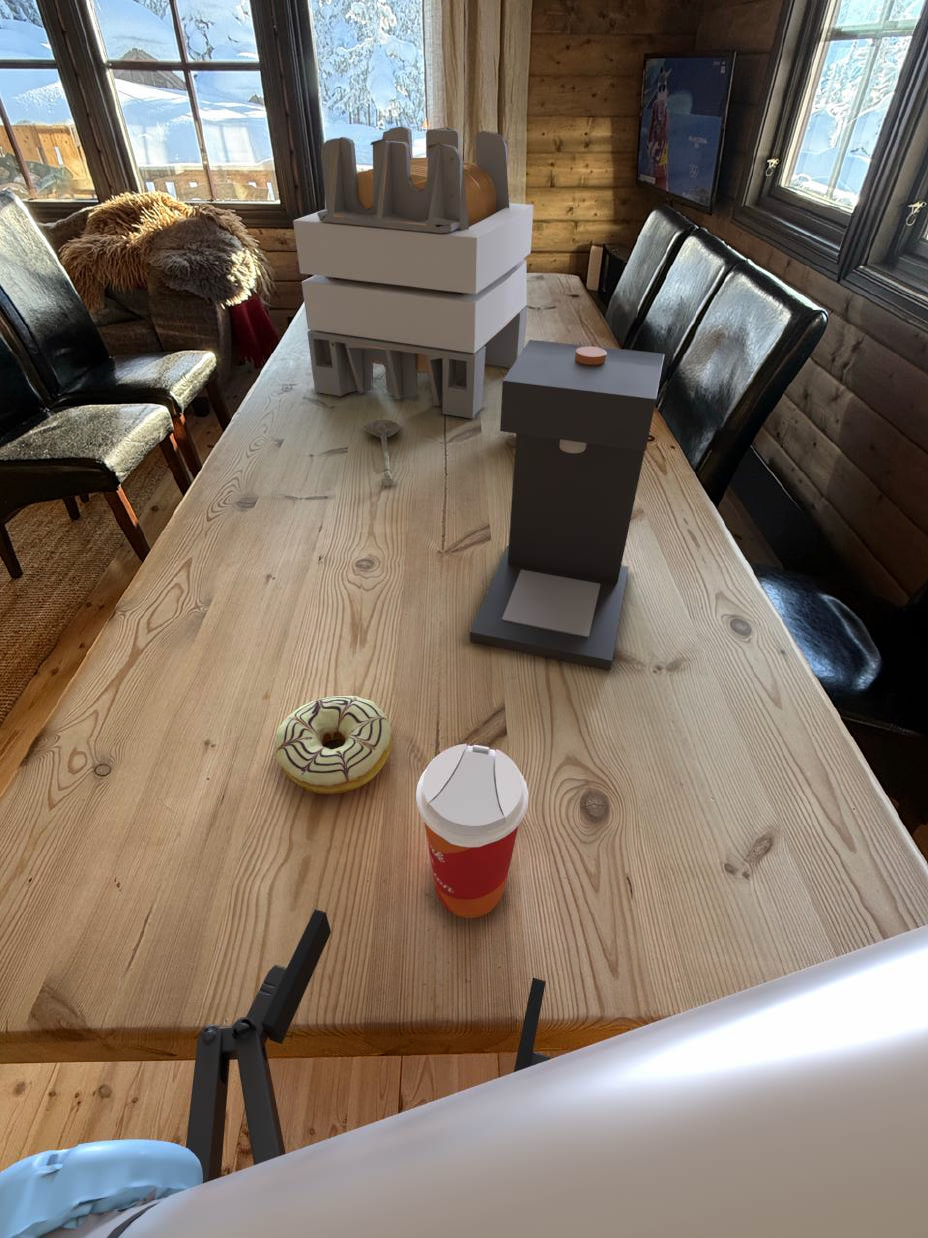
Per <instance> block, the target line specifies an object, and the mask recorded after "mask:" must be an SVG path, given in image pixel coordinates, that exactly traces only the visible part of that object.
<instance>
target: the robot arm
mask: <svg viewBox="0 0 928 1238" xmlns="http://www.w3.org/2000/svg"><path fill="white" fill-rule="evenodd" d="M331 934H332V930H331V926H330V923H329V918H328V916H327V912H326V911H322V910H319V909H317V908H314V909H313V912H312V914H311V916H310V918H309V920H308V922H307V924H306V927H305V929H304V931H303V933H302V935H301V937H300V939H299V940H298V941H299V942H298V943H297V945H296V948H295V950H294V951H293V954H292V956H291V958H290V960H289V963H288V965H287V967H285V966H281V965H278V964H274V965H273V966H272V967H271V968H270V969H269V970H268V972H267V973H266V975H265V978H264V979H263V982H262V984H261V986H260V987H259V990H258V991H257V994H256V995H255V998H254V1000H253V1002H252V1004H251V1005H250V1008H249V1010H248V1012H247V1014H246V1016H243V1017H239V1018H238V1019H236V1020H235V1022H234V1023H233V1024H232V1025H231V1026H229V1025H228V1026H218V1025H217V1024H213V1023H210V1024H208V1025H206V1026H204V1027H202V1029H201V1030H200V1032H199V1033H198V1036H197V1041H196V1042H197V1043H196V1051H195V1060H194V1068H193V1078H192V1088H191V1095H190V1096H191V1097H190V1103H189V1104H190V1105H189V1115H188V1123H187V1131H186V1132H187V1133H186V1141H185V1147H184V1146H183V1145H180V1144H178V1143H174V1142H170V1141H165V1140H164V1141H163V1140H156V1139H140V1138H139V1139H131V1138H130V1139H129V1138H128V1139H113V1140H112V1139H111V1140H100V1141H93V1142H92V1141H91V1142H86V1143H79V1144H78V1145H77V1146H74V1147H71V1148H65V1149H56V1150H55V1149H53V1150H51V1149H49V1150H45V1151H42V1152H38V1153H36V1154H32V1155H30V1156H27V1157H25V1158H23V1159H21V1160H19V1161H17V1162H15V1163H13V1164H11V1165H9V1166H8V1167H7V1168H6V1169H4V1170H2V1171H1V1172H0V1238H928V924H926V925H922V926H920V927H917V928H913V929H911V930H908V931H906V932H903V933H900V934H898V935H894V936H891V937H888V938H885V939H883V940H881V941H878V942H875V943H872V944H869V945H867V946H863V947H860V948H859V949H856V950H853V951H849V952H847V953H844V954H841V955H838V956H835V957H833V958H831V959H827V960H825V961H822V962H819V963H815V964H814V965H811V966H810V965H809V966H808V967H805V968H802V969H799V970H797V971H794V972H791V973H788V974H785V975H783V976H780V977H777V978H774V979H772V980H769V981H766V982H763V983H761V984H758V985H754V986H752V987H749V988H746V989H744V990H741V991H738V992H735V993H732V994H729V995H727V996H724V997H721V998H718V999H716V1000H713V1001H709V1002H707V1003H704V1004H702V1005H698V1006H695V1007H693V1008H691V1009H688V1010H685V1011H682V1012H679V1013H677V1014H674V1015H673V1014H672V1015H670V1016H668V1017H666V1018H663V1019H660V1020H657V1021H654V1022H651V1023H648V1024H645V1025H643V1026H640V1027H637V1028H634V1029H631V1030H628V1031H626V1032H623V1033H621V1034H618V1035H615V1036H611V1037H609V1038H607V1039H604V1040H601V1041H598V1042H595V1043H593V1044H590V1045H587V1046H584V1047H581V1048H578V1049H576V1050H573V1051H570V1052H567V1053H564V1054H562V1055H559V1056H556V1057H553V1058H551V1056H550V1055H547V1054H543V1053H541V1052H538V1051H535V1050H534V1047H535V1042H536V1038H537V1037H536V1036H537V1031H538V1027H539V1026H538V1025H539V1019H540V1015H541V1009H542V1005H543V999H544V994H545V990H546V989H545V988H546V983H547V981H546V980H542V979H541V978H540V979H539V978H537V977H532V980H531V985H530V988H529V994H528V999H527V1004H526V1009H525V1014H524V1018H523V1024H522V1028H521V1034H520V1038H519V1044H518V1048H517V1053H516V1059H515V1063H514V1068H513V1072H512V1073H509V1074H505V1075H503V1076H500V1077H498V1078H497V1077H496V1078H495V1079H491V1080H488V1081H486V1082H483V1083H480V1084H478V1085H475V1086H472V1087H469V1088H466V1089H463V1090H461V1091H458V1092H456V1093H453V1094H451V1095H447V1096H445V1097H442V1098H438V1099H436V1100H432V1101H431V1102H427V1103H424V1104H422V1105H419V1106H416V1107H413V1108H411V1109H407V1110H404V1111H402V1112H400V1113H396V1114H394V1115H391V1116H388V1117H385V1118H383V1119H380V1120H377V1121H375V1122H374V1121H373V1122H371V1123H369V1124H365V1125H363V1126H360V1127H358V1128H355V1129H352V1130H349V1131H347V1132H343V1133H341V1134H338V1135H336V1136H332V1137H329V1138H327V1139H324V1140H321V1141H318V1142H315V1143H313V1144H310V1145H307V1146H304V1147H302V1148H299V1149H297V1150H293V1151H290V1152H288V1153H286V1152H287V1151H286V1148H285V1142H284V1135H283V1132H282V1126H281V1125H282V1124H281V1120H280V1115H279V1109H278V1105H277V1100H276V1093H275V1089H274V1083H273V1078H272V1074H271V1073H272V1072H271V1067H270V1063H269V1057H268V1051H267V1046H266V1043H267V1042H268V1039H269V1041H272V1042H274V1043H277V1044H280V1045H283V1042H284V1040H285V1038H286V1035H287V1034H288V1031H289V1029H290V1026H291V1024H292V1022H293V1019H294V1018H295V1015H296V1013H297V1011H298V1009H299V1006H300V1004H301V1002H302V999H303V997H304V995H305V992H306V991H307V988H308V986H309V983H310V981H311V980H312V977H313V974H314V973H315V970H316V968H317V965H318V964H319V961H320V959H321V957H322V954H323V952H324V950H325V948H326V945H327V943H328V941H329V938H330V936H331ZM231 1061H237V1066H238V1072H239V1078H240V1087H241V1091H242V1092H241V1093H242V1098H243V1105H244V1110H245V1117H246V1123H247V1130H248V1137H249V1142H250V1143H249V1144H250V1148H251V1155H252V1161H253V1165H250V1166H248V1167H245V1168H243V1169H241V1170H238V1171H237V1170H236V1171H234V1172H231V1173H228V1174H226V1175H223V1176H222V1170H223V1169H222V1168H223V1155H224V1142H225V1129H226V1119H227V1118H226V1117H227V1103H228V1090H229V1078H230V1065H231V1064H230V1063H231Z"/></svg>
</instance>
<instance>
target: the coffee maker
mask: <svg viewBox="0 0 928 1238" xmlns="http://www.w3.org/2000/svg"><path fill="white" fill-rule="evenodd" d="M664 359H665V353H657V352H649V351H639V350H630V349H621V348H610V347H604V346H603V347H601V346H594V345H593V346H592V345H583V344H574V343H573V344H572V343H563V342H554V341H545V340H537V339H536V340H535V339H529V340H528V341H527V343H526V344H525V345H524V349H523V351H522V352H521V354H520V355H519V357H518V358H517V360H516V361H515V363H514V364H513V366H512V367H511V368H509V371H508V372H507V373H506V375H505V376H504V377H503V379H502V381H501V401H500V402H501V405H500V424H499V432H502V433H509V434H512V433H516V437H515V442H514V443H515V444H514V459H513V461H514V462H513V474H512V489H511V490H512V491H511V505H510V507H511V508H510V520H509V533H508V534H509V535H508V536H509V537H508V545H506V547H505V550H504V552H503V554H502V556H501V558H500V561H499V563H498V565H497V568H496V570H495V572H494V575H493V577H492V580H491V582H490V585H489V586H488V589H487V591H486V594H485V596H484V599H483V601H482V602H481V604H480V607H479V610H478V612H477V614H476V617H475V620H474V622H473V625H472V626H471V628H470V631H469V643H475V644H480V645H485V646H489V647H495V648H498V649H503V650H508V651H509V650H510V651H513V652H518V653H522V654H529V655H533V656H538V657H543V658H547V659H551V660H552V659H553V660H557V661H562V662H567V663H572V664H578V665H580V666H587V667H590V668H595V669H599V670H600V669H601V670H605V671H611V668H612V666H613V665H612V664H613V660H614V653H615V649H616V642H617V637H618V631H619V625H620V620H621V613H622V610H623V609H622V608H623V603H624V597H625V590H626V585H627V580H628V573H629V568H630V567H629V566H628V565H624V564H622V563H623V559H624V554H625V548H626V544H627V540H628V535H629V530H630V526H631V525H630V524H631V521H632V520H631V519H632V515H633V510H634V505H635V501H636V496H637V492H638V486H639V481H640V477H641V473H642V472H641V471H642V466H643V462H644V457H645V452H646V451H647V446H648V442H649V437H650V432H651V428H652V422H653V418H654V414H655V413H654V412H655V408H656V403H657V398H658V393H659V392H658V391H659V387H660V381H661V377H662V376H661V375H662V369H663V365H664Z"/></svg>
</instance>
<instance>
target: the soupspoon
mask: <svg viewBox="0 0 928 1238" xmlns="http://www.w3.org/2000/svg"><path fill="white" fill-rule="evenodd" d="M401 429H402V426H401V424H400V423H398V422H396V421H393V420H389V419H375V420H373V421H370V422H368V423H367V424H365V425H363V428H362V430H364V432H367V433H369V434H370V435H373V436H375V437H378V438H379V439H380V441H381V447H382V454H383V461H384V470H383V471H384V474H383V478H382V479H381V483H382V485H383V486H385V487H391V486H392V485H393V484H394V479H393V478H392V476H391V468H390V457H389V449H388V439H387V438H389V437H392V436H393V435H394V434H396V433H397V432H399V431H400V430H401Z"/></svg>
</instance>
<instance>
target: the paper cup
mask: <svg viewBox="0 0 928 1238" xmlns="http://www.w3.org/2000/svg"><path fill="white" fill-rule="evenodd" d="M415 792H416V793H415V800H416V806H417V810H418V813H419V815H420V817H421V819H422V821H423V824H424V829H425V836H426V842H427V849H428V854H429V855H428V856H429V861H430V868H431V872H432V873H431V874H432V879H433V883H434V884H433V885H434V888H435V889H434V890H435V892H436V896H437V898H438V900H439V901H440V903H441V905H442V906H443V907H444V908H445V909H446V910H447V911H448V912H450V913H451V914H453V915H455V916H457V917H459V918H465V919H476V918H480V917H483V916H485V915H488V914H489V913H490V912H492V911H493V910H494V909H495V908H496V907H497V906H498V904H499V902H500V901H501V899H502V897H503V894H504V891H505V887H506V884H507V879H508V875H509V871H510V867H511V862H512V857H513V852H514V848H515V844H516V841H517V835H518V830H519V826H520V824H521V823H522V821H523V820H524V817H525V815H526V813H527V810H528V805H529V790H528V786H527V782H526V779H525V778H524V776H523V774H522V773H521V771H520V769H519V767H518V766H517V765H516V763H515V762H514V761H513V759H512V758H510V757H509V756H508V755H507V754H506V753H505V752H503V751H501V750H499V749H497V748H496V749H490V747H489V746H485V745H484V746H483V745H477V744H473V745H467V743H462V744H461V743H460V744H457V745H453V746H450V747H448V748H446V749H445V750H443V751H441V752H440V753H439V754H437V755H436V756H435V757H434V758H433V759H432V760H431V761H430V762H429V763H428V765H427V767H426V768H425V770H424V771H423V772H422V774H421V775H420V777H419V780H418V782H417V786H416V791H415Z"/></svg>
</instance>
